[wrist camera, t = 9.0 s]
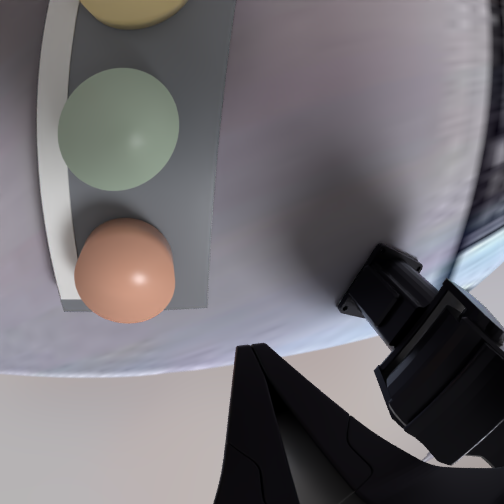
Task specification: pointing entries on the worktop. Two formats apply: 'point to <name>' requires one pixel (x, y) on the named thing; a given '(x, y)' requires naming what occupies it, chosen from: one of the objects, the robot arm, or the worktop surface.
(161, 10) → the ochre button
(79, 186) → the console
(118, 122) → the sage button
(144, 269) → the terracotta button
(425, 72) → the worktop surface
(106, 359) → the worktop surface
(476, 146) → the worktop surface
